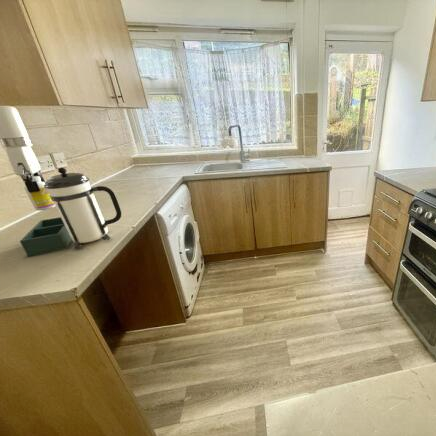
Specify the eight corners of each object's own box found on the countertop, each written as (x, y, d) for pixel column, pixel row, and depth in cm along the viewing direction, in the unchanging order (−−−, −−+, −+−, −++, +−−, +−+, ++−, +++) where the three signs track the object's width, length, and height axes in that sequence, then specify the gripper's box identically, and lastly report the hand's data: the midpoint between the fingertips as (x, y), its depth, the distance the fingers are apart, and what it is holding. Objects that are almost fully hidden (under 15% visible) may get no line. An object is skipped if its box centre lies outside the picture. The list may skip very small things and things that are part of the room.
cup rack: (27, 256, 90) (19, 241, 87) (47, 233, 107) (40, 220, 104) (66, 248, 95) (59, 233, 92) (78, 228, 112) (73, 215, 109)
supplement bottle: (61, 205, 102) (46, 175, 96) (42, 211, 96) (25, 180, 91) (51, 204, 104) (36, 174, 98) (32, 210, 98) (15, 179, 93)
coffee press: (94, 250, 92) (59, 172, 80) (60, 248, 95) (20, 172, 83) (129, 229, 108) (104, 161, 95) (98, 228, 111) (70, 162, 98)
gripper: (13, 141, 95) (34, 185, 102) (-10, 146, 81) (16, 197, 88) (38, 140, 98) (57, 183, 105) (20, 144, 84) (43, 193, 91)
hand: (38, 189), depth 97 cm, fingers closed on supplement bottle, 6 cm apart
